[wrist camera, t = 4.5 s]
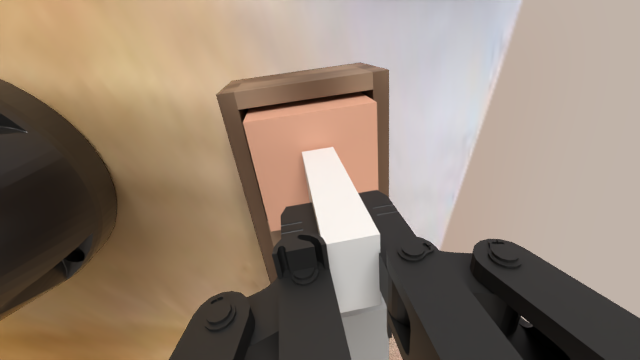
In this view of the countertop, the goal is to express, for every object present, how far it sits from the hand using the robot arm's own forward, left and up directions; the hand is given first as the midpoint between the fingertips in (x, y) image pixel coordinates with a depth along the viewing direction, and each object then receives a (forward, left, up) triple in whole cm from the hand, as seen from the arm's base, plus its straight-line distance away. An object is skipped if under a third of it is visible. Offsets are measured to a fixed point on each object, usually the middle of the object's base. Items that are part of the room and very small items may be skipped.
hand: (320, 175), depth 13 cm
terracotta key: (0, 0, -5) cm, 5 cm away
